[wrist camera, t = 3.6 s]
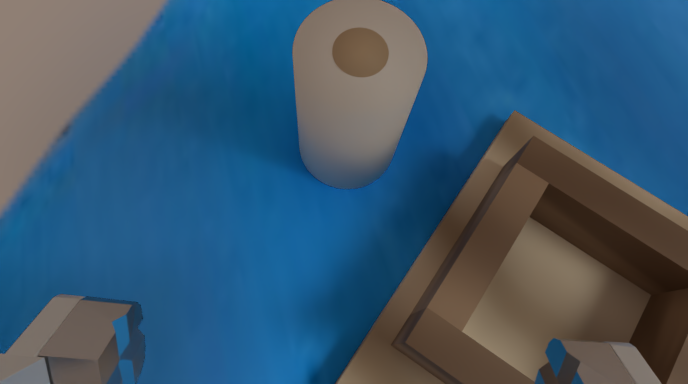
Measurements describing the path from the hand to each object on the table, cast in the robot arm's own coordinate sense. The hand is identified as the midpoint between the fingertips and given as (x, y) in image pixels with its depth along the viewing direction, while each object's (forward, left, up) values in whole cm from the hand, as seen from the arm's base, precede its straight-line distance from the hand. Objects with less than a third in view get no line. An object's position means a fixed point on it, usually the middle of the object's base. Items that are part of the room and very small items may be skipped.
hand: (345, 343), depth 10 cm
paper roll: (-9, -5, -13) cm, 16 cm away
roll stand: (-7, +7, -13) cm, 16 cm away
